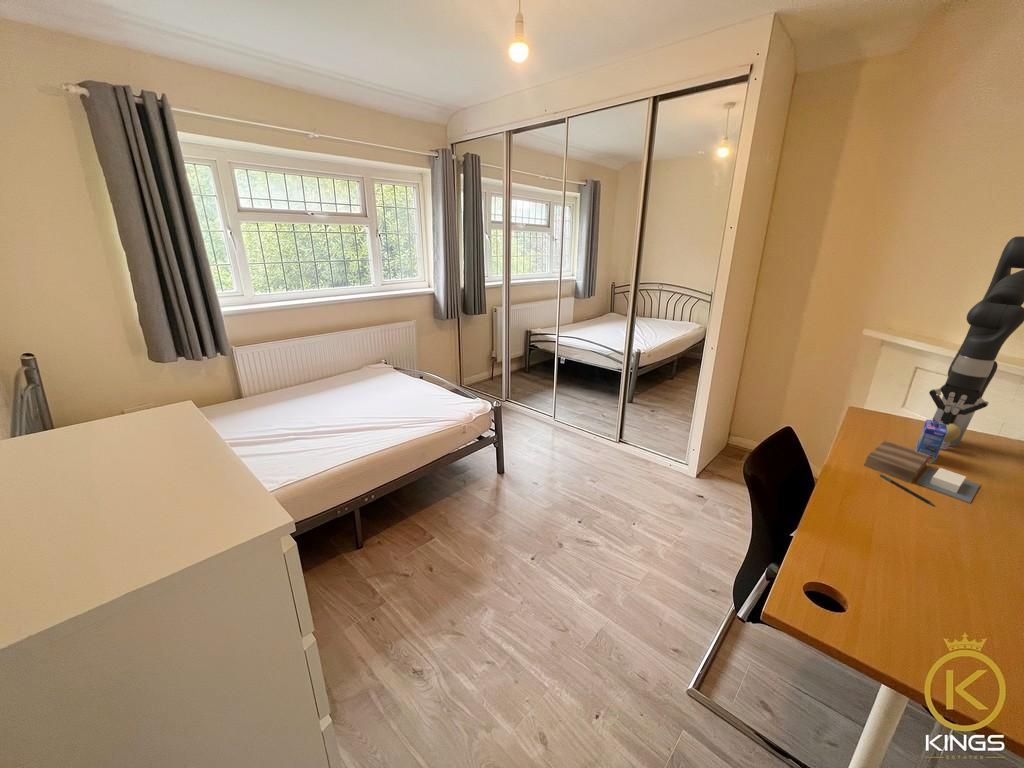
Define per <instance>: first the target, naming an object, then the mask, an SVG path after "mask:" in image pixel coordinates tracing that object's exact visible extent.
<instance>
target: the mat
mask: <svg viewBox="0 0 1024 768" xmlns="http://www.w3.org/2000/svg"><path fill="white" fill-rule="evenodd" d="M938 470H939V469H936V468H934V467H930V466H928V468H926V470H924V472H923V473H922V475H921V476H920V477H919V478H918V479H917V480H916V482H915V484H916V485H918V486H922V487H924V488H927V489H930V490H932V491H935V492H938V493H940V494H943V495H946V496H949V497H951V498H953V499H957V500H959V501H962V502H965V503H966V504H971V502H972V500H973V498H974V497H975V495H976V493H977V491H978V490H979V488H980V485H981V483H977V482H975V481H971V480H968V479H967V478H965V480H964V482H963V484H962V485H961V487H960V488H959V490H958V491H957V493H955V492H952V491H949V490H947V489H944V488H941V487H938V486H936V485H933V484H930V481H931V479H932V477H933V476H934V475H935V473H936V472H937V471H938Z"/></svg>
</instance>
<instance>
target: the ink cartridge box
mask: <svg viewBox="0 0 1024 768" xmlns="http://www.w3.org/2000/svg"><path fill="white" fill-rule="evenodd" d="M932 419H933V420H932ZM932 419H926V420H925V423H924V425H923V428H922V430H921V433H920V436H919V438H918V440H917V442H916V446H915V448H914V450H915V451H918V452H921V453H924V454H927V455H930V456H929V458H928V461H927V463H930V464H935V463H936V460H937V458H938V455H939V453H940V451H941V450H942V449H941V446H942V444H943V441H944V439H945V436H946V434H947V426H946V424H943V423H941V422H937V421H935V418H934V416H933V417H932Z"/></svg>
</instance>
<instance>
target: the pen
mask: <svg viewBox="0 0 1024 768" xmlns="http://www.w3.org/2000/svg"><path fill="white" fill-rule="evenodd" d="M879 477H880V478H882V479H883V480H885V481H887V482H889V483H890V484H892V485H895V486H896V487H897V488H899V489H901V490H903V491H905V492H907V493H908V494H910V495H912V496H913V497H916V498H917V499H919V500H920V501H923V502H924V503H926V504H927V505H930V506H933V507H935V504H934V503H933V502H932V501H930V500H928V499H926V498H925V497H923V496H921V495H919V494H918V493H916V492H914V491H912V490H911V489H909V488H907V487H905V486H903V485H902V484H900V483H898V482H896V481H895V480H893V479H891V478H889V477H887V476H886V475H884V474H880V475H879Z"/></svg>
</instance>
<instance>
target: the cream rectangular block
mask: <svg viewBox="0 0 1024 768" xmlns="http://www.w3.org/2000/svg"><path fill="white" fill-rule="evenodd" d="M937 470H938V471H937V472H936V473H935V475H934V476H933V477H932V479H931V481H930V484H933V485H936V486H938V487H941V488H944V489H947V490H949V491H952V492H955V493H957V491H958V490H959V488H960V487H961V485H962V484H963V482H964V480H965V479H967V476H966V475H962V474H959V473H956V472H953V471H952V470H951V471H950V470H948V469H945V468H942V467H939V468H938V469H937Z"/></svg>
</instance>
